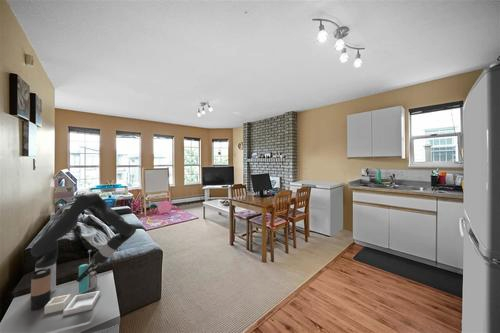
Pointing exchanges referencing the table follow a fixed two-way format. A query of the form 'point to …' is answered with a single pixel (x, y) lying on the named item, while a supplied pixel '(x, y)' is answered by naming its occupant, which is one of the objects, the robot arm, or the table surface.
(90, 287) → the french press
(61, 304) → the square box
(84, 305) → the tray
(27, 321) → the table surface
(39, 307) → the travel mug
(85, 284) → the dowel
